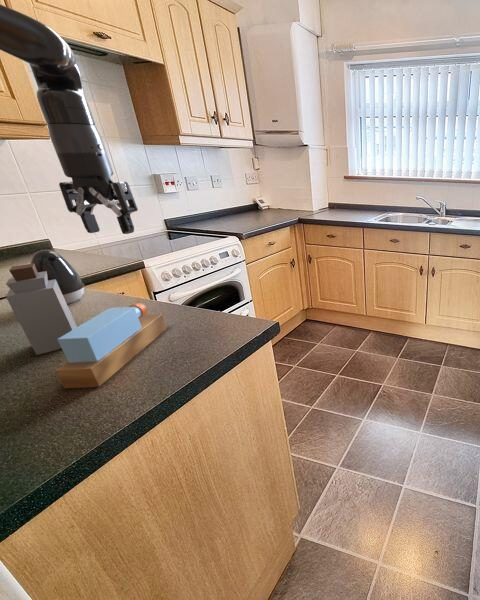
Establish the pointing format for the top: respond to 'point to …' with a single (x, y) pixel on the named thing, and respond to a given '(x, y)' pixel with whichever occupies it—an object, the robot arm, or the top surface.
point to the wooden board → (111, 356)
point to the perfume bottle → (39, 307)
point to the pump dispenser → (60, 274)
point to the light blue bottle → (101, 333)
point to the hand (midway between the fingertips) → (111, 232)
